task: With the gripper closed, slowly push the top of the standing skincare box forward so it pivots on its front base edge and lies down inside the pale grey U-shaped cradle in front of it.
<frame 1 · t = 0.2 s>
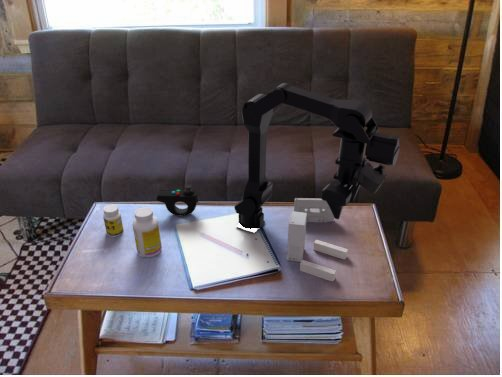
hand: (344, 209, 118), 14 cm above the table, tool pointing down, fingers open, 9 cm apart
supplement bottle 2: (115, 232, 134), on the table
skincare box: (295, 255, 126), on the table
u rest: (323, 263, 122), on the table
controller: (179, 214, 142), on the table
cassette: (313, 221, 139), on the table
supplement bottle: (149, 251, 127), on the table
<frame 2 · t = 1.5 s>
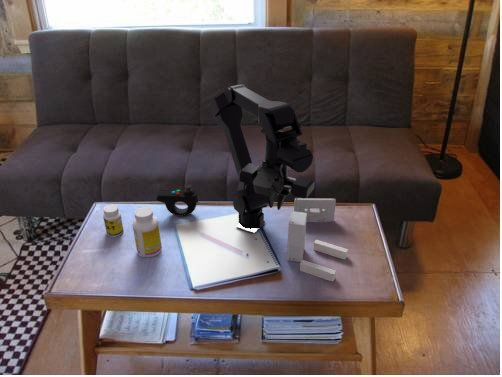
hand: (275, 208, 121), 13 cm above the table, tool pointing down, fingers closed
nothing on the table moved.
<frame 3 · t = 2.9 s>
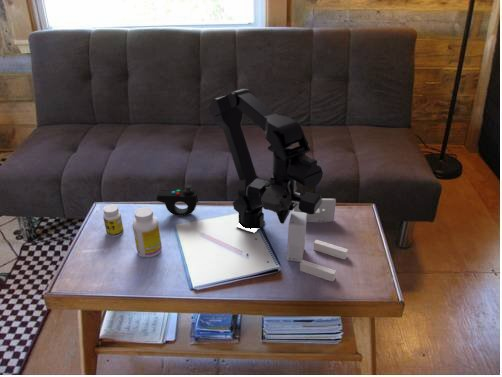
hand: (282, 222, 122), 9 cm above the table, tool pointing down, fingers closed
skincare box: (295, 255, 126), on the table, touching gripper
everything else where it was.
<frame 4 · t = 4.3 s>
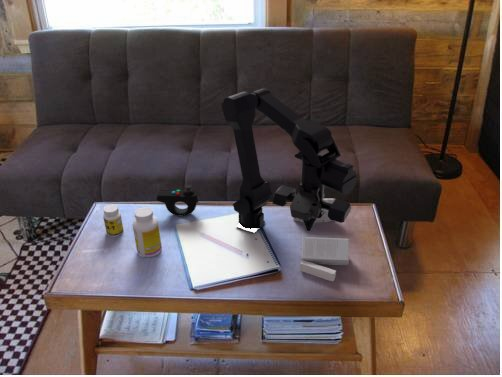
hand: (309, 230, 119), 9 cm above the table, tool pointing down, fingers closed
skincare box: (301, 249, 122), point 3 cm above the table, touching u rest
everything else where it was.
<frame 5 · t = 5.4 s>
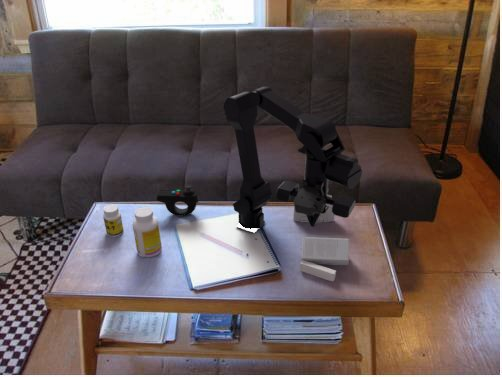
hand: (312, 226, 118), 11 cm above the table, tool pointing down, fingers closed
nothing on the table moved.
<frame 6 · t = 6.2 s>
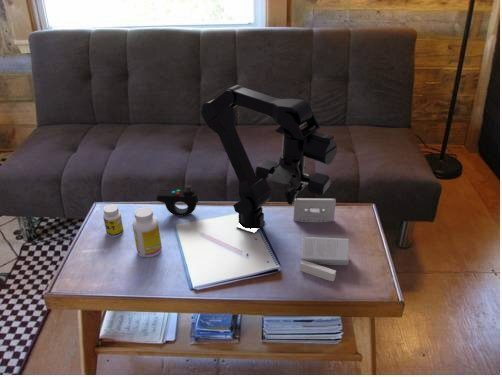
hand: (290, 204, 123), 13 cm above the table, tool pointing down, fingers closed
nothing on the table moved.
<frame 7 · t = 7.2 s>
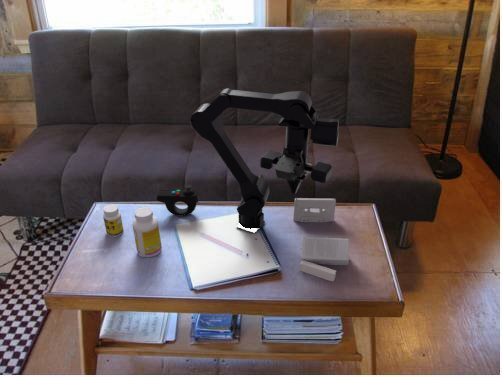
hand: (294, 193, 127), 13 cm above the table, tool pointing down, fingers closed
nothing on the table moved.
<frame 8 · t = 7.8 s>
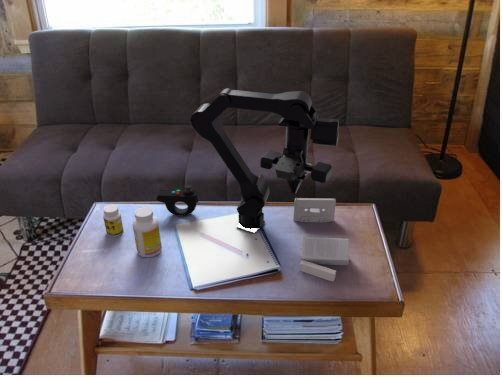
hand: (294, 193, 127), 13 cm above the table, tool pointing down, fingers closed
nothing on the table moved.
at the end: skincare box tilted 86°; skincare box inside the target area (2.4 cm from its centre), point 3.2 cm above the table; the gripper is holding nothing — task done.
